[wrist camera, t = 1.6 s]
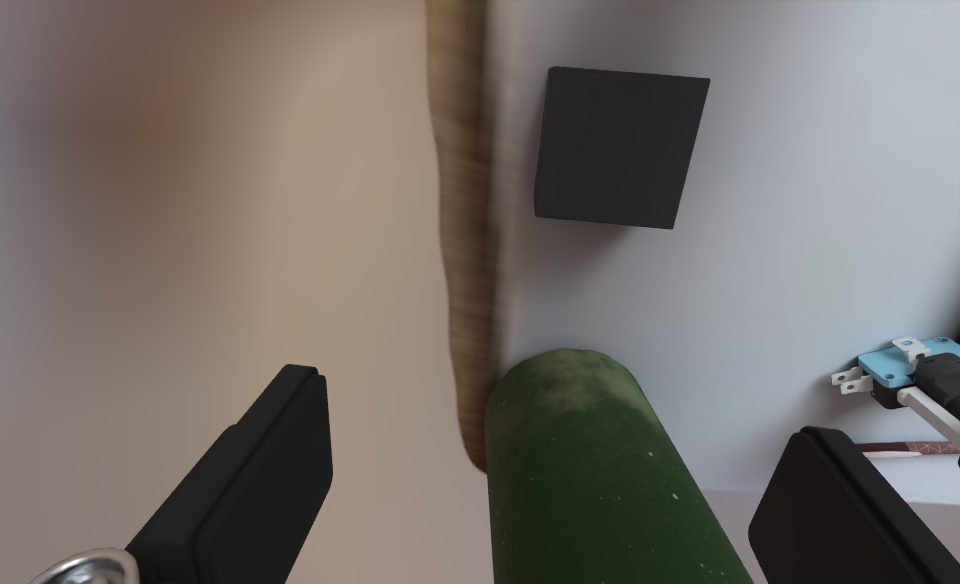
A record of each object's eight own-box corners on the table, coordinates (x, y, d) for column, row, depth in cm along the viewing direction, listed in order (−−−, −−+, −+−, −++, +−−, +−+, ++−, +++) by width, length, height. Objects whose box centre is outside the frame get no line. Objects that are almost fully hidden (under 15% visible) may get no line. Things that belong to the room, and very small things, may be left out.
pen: (830, 449, 31) (839, 461, 30) (832, 440, 31) (842, 451, 30) (1023, 447, 30) (1039, 458, 29) (1028, 437, 30) (1044, 448, 29)
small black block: (549, 67, 23) (553, 66, 20) (682, 78, 23) (711, 78, 19) (533, 197, 26) (535, 217, 23) (652, 208, 26) (673, 230, 22)
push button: (829, 407, 30) (960, 550, 21) (823, 337, 28) (964, 461, 19) (950, 382, 29) (1147, 524, 20) (952, 307, 27) (1171, 426, 18)
